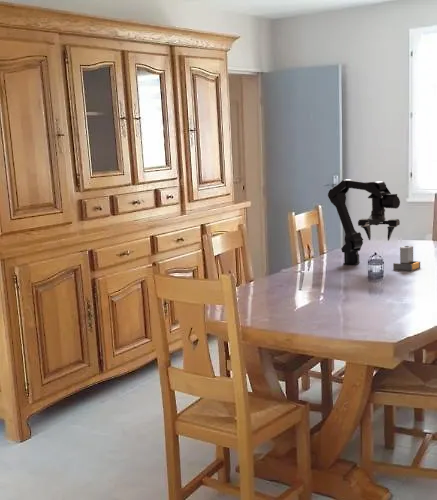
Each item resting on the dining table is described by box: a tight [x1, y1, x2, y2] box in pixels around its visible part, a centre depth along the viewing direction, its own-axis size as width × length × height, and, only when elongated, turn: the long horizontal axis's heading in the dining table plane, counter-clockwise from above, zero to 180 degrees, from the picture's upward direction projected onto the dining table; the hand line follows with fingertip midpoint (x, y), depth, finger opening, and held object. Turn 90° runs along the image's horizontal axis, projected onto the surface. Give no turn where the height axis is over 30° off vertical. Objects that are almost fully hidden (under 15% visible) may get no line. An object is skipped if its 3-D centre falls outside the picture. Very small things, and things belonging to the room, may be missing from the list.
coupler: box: [393, 260, 421, 272], centre depth 307 cm, size 9×9×3 cm
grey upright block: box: [399, 245, 414, 264], centre depth 306 cm, size 4×5×10 cm
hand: (379, 240), depth 313 cm, fingers open, 9 cm apart
